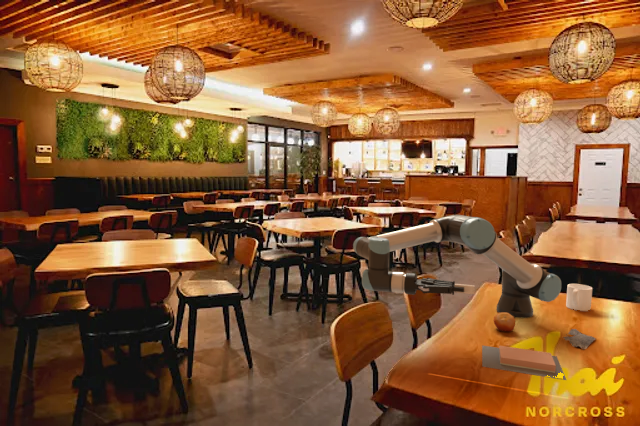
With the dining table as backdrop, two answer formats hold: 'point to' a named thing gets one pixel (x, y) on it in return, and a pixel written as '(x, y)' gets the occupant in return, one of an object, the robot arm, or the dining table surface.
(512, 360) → the terracotta tile
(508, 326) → the fruit
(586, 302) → the mug
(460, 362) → the dining table surface
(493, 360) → the rubber mat
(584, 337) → the stone slab
